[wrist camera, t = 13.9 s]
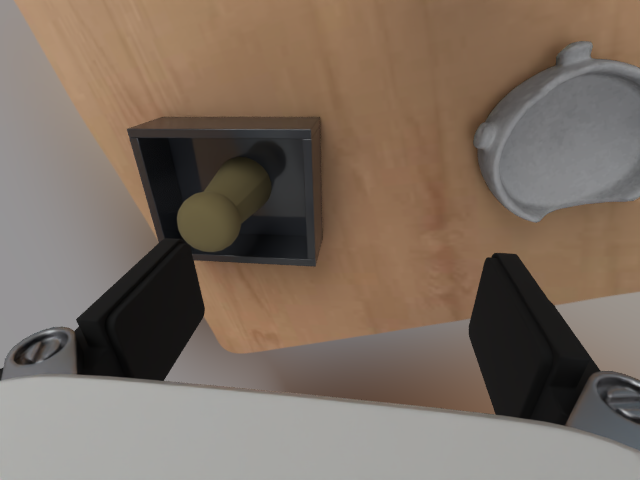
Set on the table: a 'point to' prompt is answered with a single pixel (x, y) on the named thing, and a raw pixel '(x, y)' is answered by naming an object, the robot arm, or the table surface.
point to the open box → (207, 158)
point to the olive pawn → (224, 205)
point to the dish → (565, 137)
